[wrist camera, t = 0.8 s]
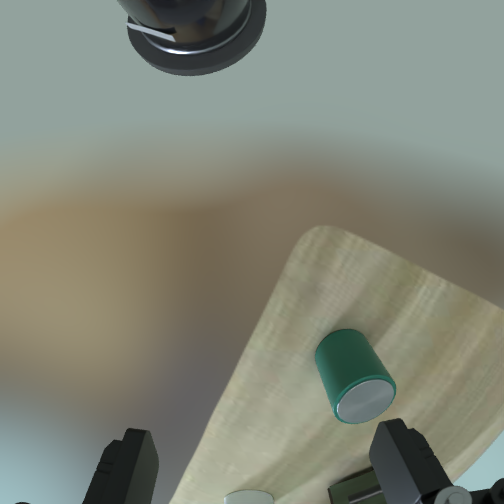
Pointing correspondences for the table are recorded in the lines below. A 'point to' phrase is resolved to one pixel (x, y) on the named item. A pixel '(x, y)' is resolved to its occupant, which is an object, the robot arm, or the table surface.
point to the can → (354, 377)
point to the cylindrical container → (249, 497)
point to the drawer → (359, 491)
